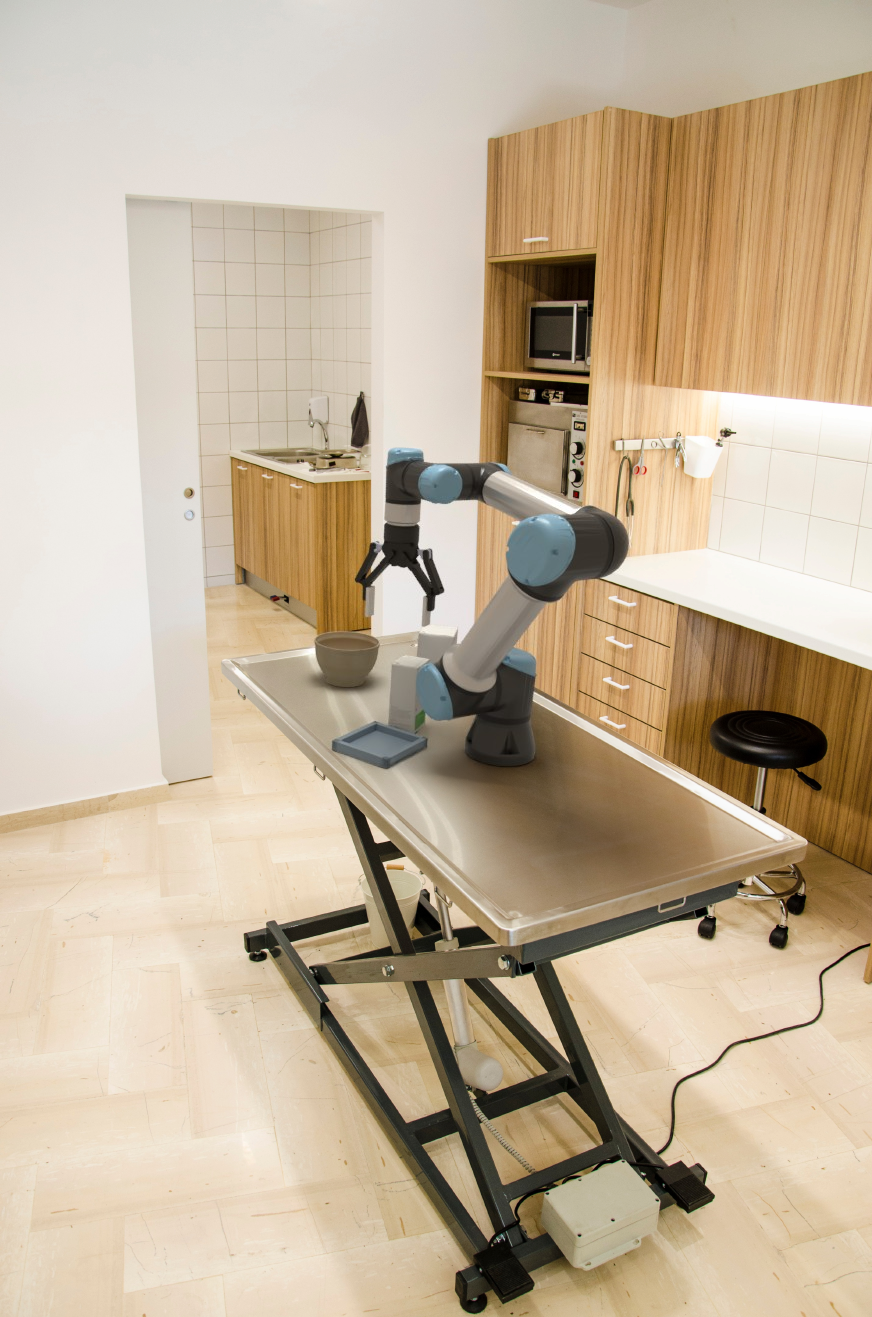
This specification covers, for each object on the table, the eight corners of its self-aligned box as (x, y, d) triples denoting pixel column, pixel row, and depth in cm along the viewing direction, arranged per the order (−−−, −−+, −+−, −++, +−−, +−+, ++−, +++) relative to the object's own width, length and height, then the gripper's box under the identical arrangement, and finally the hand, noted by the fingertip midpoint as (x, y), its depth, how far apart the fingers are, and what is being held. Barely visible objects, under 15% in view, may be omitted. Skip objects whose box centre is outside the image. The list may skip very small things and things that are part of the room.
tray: (427, 747, 211) (427, 738, 211) (386, 769, 199) (386, 759, 198) (374, 729, 218) (374, 720, 217) (331, 749, 206) (332, 740, 205)
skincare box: (413, 735, 217) (418, 668, 212) (385, 730, 219) (389, 663, 214) (425, 723, 224) (431, 658, 219) (398, 717, 226) (403, 653, 221)
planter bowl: (385, 676, 252) (388, 636, 249) (365, 696, 237) (368, 653, 234) (326, 667, 256) (328, 627, 252) (302, 686, 241) (304, 644, 237)
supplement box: (449, 694, 243) (454, 636, 239) (413, 690, 245) (417, 632, 240) (454, 682, 252) (459, 626, 247) (419, 678, 253) (424, 622, 248)
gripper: (463, 527, 206) (456, 625, 212) (358, 514, 216) (354, 608, 222) (449, 532, 200) (442, 633, 206) (341, 518, 209) (338, 615, 215)
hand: (397, 620), depth 214 cm, fingers open, 13 cm apart
